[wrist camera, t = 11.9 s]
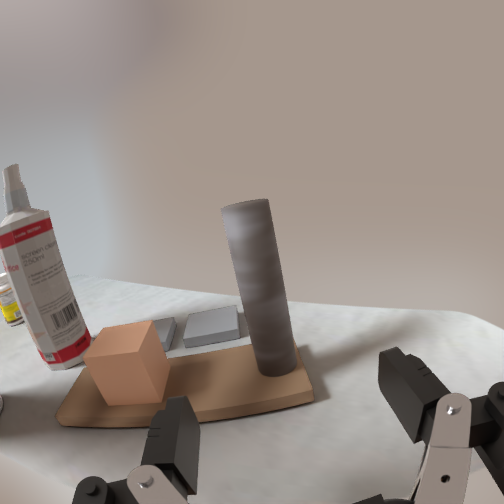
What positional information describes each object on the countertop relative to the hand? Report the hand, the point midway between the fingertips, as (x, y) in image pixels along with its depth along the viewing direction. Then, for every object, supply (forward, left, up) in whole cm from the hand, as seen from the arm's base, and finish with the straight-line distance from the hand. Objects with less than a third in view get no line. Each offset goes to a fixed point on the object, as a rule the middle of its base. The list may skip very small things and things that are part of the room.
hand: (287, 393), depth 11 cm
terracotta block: (-12, +11, -7) cm, 18 cm away
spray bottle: (-26, +21, -8) cm, 34 cm away
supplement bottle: (-50, +37, -8) cm, 63 cm away
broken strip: (-10, +22, -8) cm, 26 cm away
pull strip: (-9, +11, -8) cm, 16 cm away
